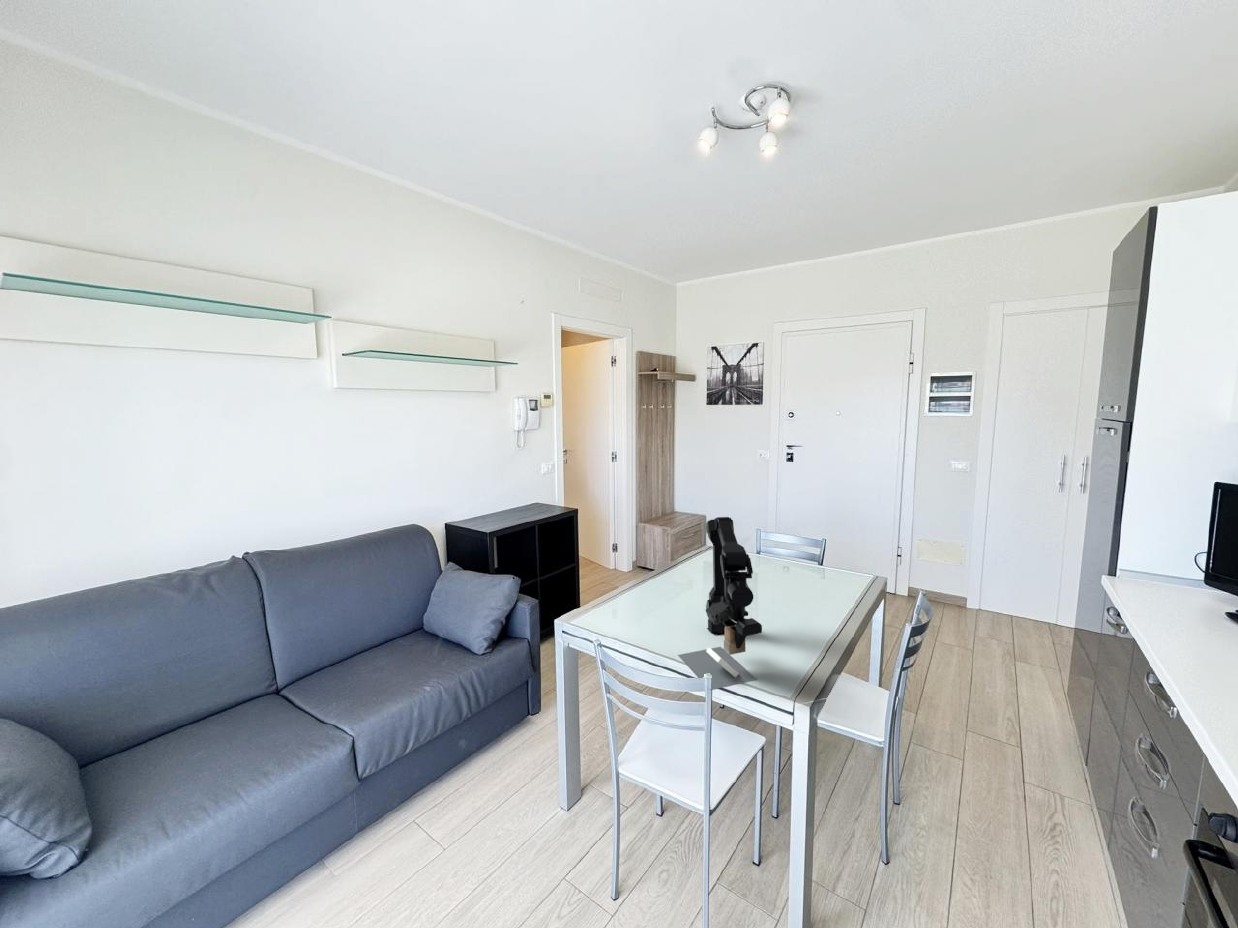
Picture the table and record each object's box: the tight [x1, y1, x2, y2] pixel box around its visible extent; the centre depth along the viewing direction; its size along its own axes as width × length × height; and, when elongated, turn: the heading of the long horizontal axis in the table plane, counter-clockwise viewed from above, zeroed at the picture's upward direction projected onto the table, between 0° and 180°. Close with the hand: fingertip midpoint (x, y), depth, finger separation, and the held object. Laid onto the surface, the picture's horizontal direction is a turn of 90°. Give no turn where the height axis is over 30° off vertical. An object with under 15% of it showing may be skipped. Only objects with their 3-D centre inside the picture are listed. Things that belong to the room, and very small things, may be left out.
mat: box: [677, 646, 758, 691], centre depth 147 cm, size 15×21×1 cm
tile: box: [705, 647, 739, 678], centre depth 143 cm, size 2×7×8 cm
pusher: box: [723, 625, 746, 656], centre depth 144 cm, size 5×3×7 cm, turn 108°
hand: (735, 645), depth 144 cm, fingers closed on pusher, 3 cm apart
